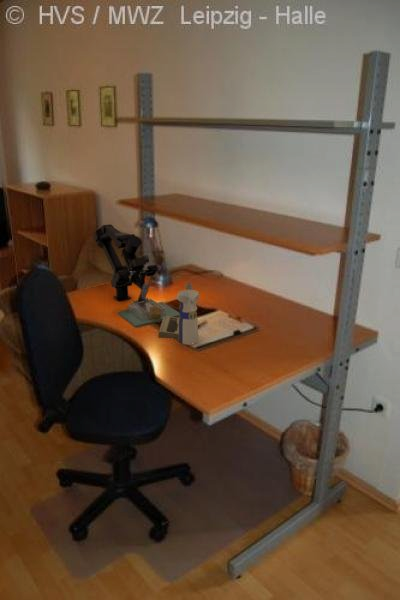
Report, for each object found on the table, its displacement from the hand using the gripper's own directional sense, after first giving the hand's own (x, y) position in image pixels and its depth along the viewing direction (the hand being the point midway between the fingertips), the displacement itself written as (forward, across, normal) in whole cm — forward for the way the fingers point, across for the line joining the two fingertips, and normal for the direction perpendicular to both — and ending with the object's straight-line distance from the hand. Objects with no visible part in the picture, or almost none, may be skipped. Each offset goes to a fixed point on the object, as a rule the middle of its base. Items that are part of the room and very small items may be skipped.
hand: (143, 290), depth 202 cm
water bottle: (+32, +2, -16) cm, 35 cm away
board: (+10, +1, +6) cm, 11 cm away
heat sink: (+9, 0, +5) cm, 11 cm away
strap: (+1, 0, +1) cm, 1 cm away
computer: (+23, +1, -6) cm, 24 cm away
